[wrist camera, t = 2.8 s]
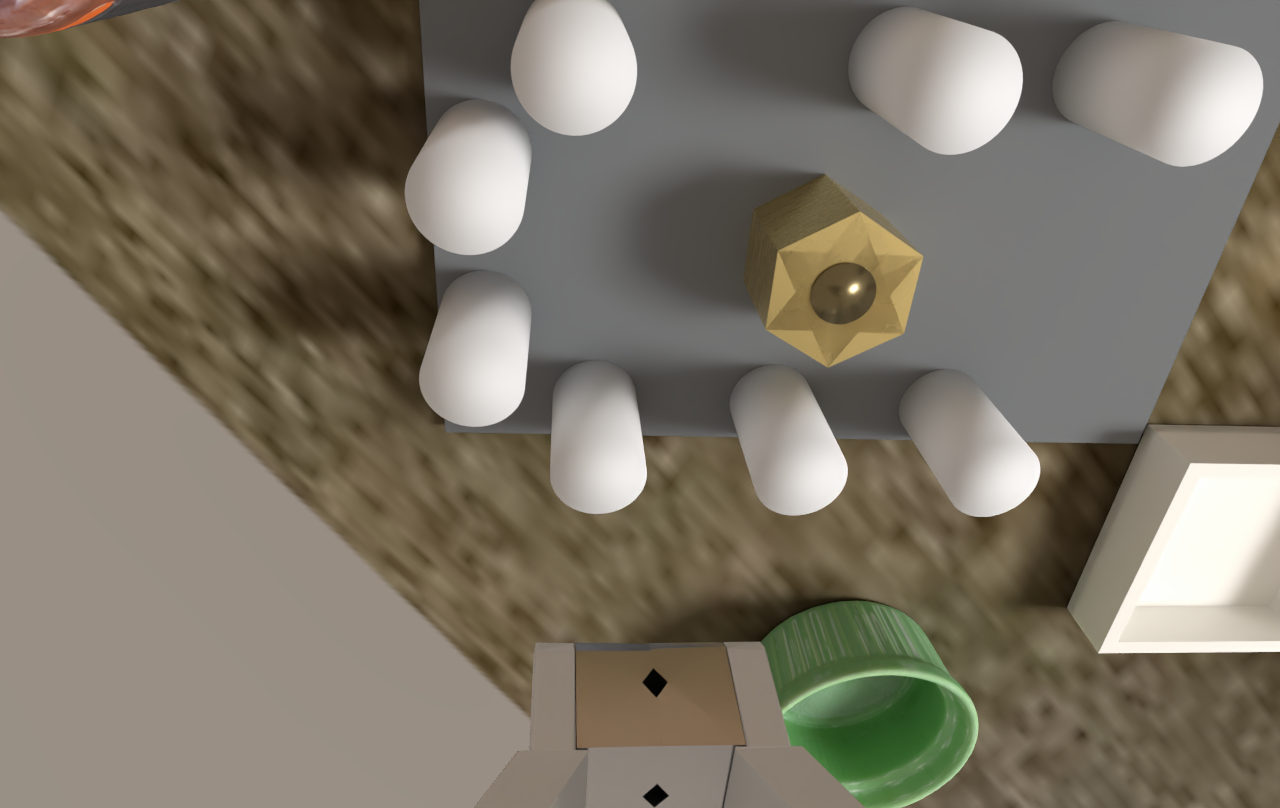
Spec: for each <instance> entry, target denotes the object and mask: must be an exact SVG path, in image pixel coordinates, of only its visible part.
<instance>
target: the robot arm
mask: <svg viewBox="0 0 1280 808" xmlns="http://www.w3.org/2000/svg"><path fill="white" fill-rule="evenodd" d="M530 726H531V727H530V746H529V747H530V748H529V751H517V753H516V754H515V755H514V757H513V758H512V759H511V761H510V762H509V763H508V764H507V766H506V767H505V768H504V769H503V771H502V772H501V773H500V775H499V776H498V777H497V778H496V780H495V781H494V783H493V784H492V785H491V787H490V788H489V789H488V790H487V791H486V793H485V794H484V795H483V797H482V798H481V799H480V800H479V802H478V803H477V804H476V806H475V807H474V808H865V807H864V806H863V805H862V804H861V803H860V802H859V801H858V800H857V799H856V798H855V797H854V796H853V795H852V794H851V793H850V792H849V791H848V790H847V789H846V788H845V787H844V786H843V785H842V784H841V783H840V782H839V781H837V780H836V779H835V778H834V777H833V776H832V775H831V774H830V773H829V772H828V771H827V770H826V769H825V768H824V767H823V766H822V765H821V764H820V763H819V762H818V761H817V760H816V759H815V758H814V757H813V756H812V755H811V754H810V753H809V752H808V751H807V750H806V749H805V748H804V747H803V746H791V744H790V741H789V737H788V733H787V729H786V726H785V722H784V718H783V714H782V711H781V707H780V703H779V699H778V696H777V692H776V688H775V684H774V681H773V677H772V673H771V669H770V666H769V662H768V658H767V654H766V651H765V647H764V646H763V645H762V644H761V642H723V643H721V642H690V643H648V644H617V643H575V649H574V643H536V645H535V650H534V662H533V683H532V704H531V725H530Z"/></svg>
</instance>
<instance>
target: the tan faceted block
mask: <svg viewBox="0 0 1280 808" xmlns="http://www.w3.org/2000/svg"><path fill="white" fill-rule="evenodd" d="M922 260H923V255H922V254H921V253H920V252H919V251H918V250H917V249H916V248H915V247H914V246H913V245H912V244H911V243H910V242H909V241H908V240H907V239H906V238H905V237H904V236H903V235H902V234H901V233H900V232H899V231H898V230H897V229H896V228H895V227H894V226H893V225H892V224H891V223H890V222H889V221H888V220H887V219H886V218H885V217H884V216H883V215H882V214H880V213H879V212H878V211H876V210H875V209H873V208H872V207H871V206H869V205H868V204H866V203H865V202H864V201H862V200H861V199H859V198H858V197H857V196H855V195H854V194H852V193H851V192H850V191H848V190H847V189H845V188H844V187H843V186H841V185H840V184H838V183H837V182H836V181H834V180H833V179H831V178H830V177H829V176H827V175H826V174H824V175H822V176H820V177H818V178H816V179H814V180H811V181H809V182H807V183H805V184H803V185H801V186H799V187H797V188H795V189H793V190H791V191H789V192H787V193H785V194H783V195H781V196H779V197H777V198H775V199H773V200H771V201H769V202H767V203H765V204H763V205H761V206H759V207H757V208H754V209H753V215H752V222H751V229H750V236H749V243H748V251H747V258H746V265H745V272H744V280H743V281H744V283H745V286H746V288H747V290H748V292H749V294H750V297H751V299H752V301H753V303H754V305H755V308H756V310H757V312H758V314H759V316H760V319H761V321H762V323H763V325H764V327H765V329H766V330H767V331H769V332H770V333H772V334H774V335H775V336H777V337H779V338H780V339H782V340H783V341H785V342H787V343H788V344H790V345H792V346H793V347H795V348H796V349H798V350H800V351H801V352H803V353H805V354H806V355H808V356H810V357H811V358H813V359H814V360H816V361H818V362H819V363H821V364H823V365H824V366H826V367H828V368H829V367H831V366H833V365H835V364H837V363H840V362H842V361H844V360H846V359H849V358H851V357H853V356H855V355H857V354H860V353H862V352H864V351H866V350H869V349H871V348H873V347H875V346H878V345H880V344H882V343H884V342H886V341H889V340H891V339H893V338H895V337H898V336H900V335H902V334H904V332H905V328H906V324H907V320H908V316H909V312H910V308H911V304H912V300H913V296H914V292H915V288H916V284H917V280H918V276H919V272H920V268H921V264H922Z"/></svg>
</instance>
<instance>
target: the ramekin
mask: <svg viewBox="0 0 1280 808" xmlns="http://www.w3.org/2000/svg"><path fill="white" fill-rule="evenodd" d="M761 644H762V645H763V646H764V647H765V651H766V654H767V658H768V662H769V666H770V669H771V673H772V677H773V681H774V684H775V688H776V692H777V696H778V699H779V703H780V707H781V711H782V714H783V718H784V722H785V726H786V729H787V733H788V737H789V741H790V744H791V746H803V747H804V748H805V749H806V750H807V751H808V752H809V753H810V754H811V755H812V756H813V757H814V758H815V759H816V760H817V761H818V762H819V763H820V764H821V765H822V766H823V767H824V768H825V769H826V770H827V771H828V772H829V773H830V774H831V775H832V776H833V777H834V778H835V779H836V780H837V781H839V782H840V783H841V784H842V785H843V786H844V787H845V788H846V789H847V790H848V791H849V792H850V793H851V794H852V795H853V796H854V797H855V798H856V799H857V800H858V801H859V802H860V803H861V804H862V805H863V806H864V807H865V808H902V807H905V806H907V805H910V804H912V803H915V802H917V801H919V800H920V799H922V798H924V797H926V796H927V795H929V794H931V793H933V792H934V791H936V790H937V789H939V788H940V787H941V786H943V785H944V784H945V783H946V782H948V781H949V780H950V779H951V778H952V777H953V776H954V775H955V774H956V773H957V772H958V771H959V770H960V769H961V768H962V767H963V765H964V764H965V763H966V761H967V760H968V758H969V756H970V754H971V753H972V751H973V749H974V746H975V742H976V740H977V735H978V717H977V713H976V709H975V707H974V704H973V702H972V701H971V699H970V697H969V696H968V694H967V693H966V692H965V690H964V689H963V688H962V687H961V686H960V684H959V683H958V682H957V681H955V680H954V679H953V678H952V677H951V676H950V674H949V673H948V671H947V669H946V668H945V666H944V664H943V663H942V661H941V659H940V658H939V656H938V654H937V653H936V651H935V649H934V648H933V646H932V644H931V643H930V641H929V639H928V638H927V636H926V635H925V633H924V632H923V631H922V629H921V628H920V627H919V625H918V624H917V623H916V622H914V621H913V620H912V619H911V618H910V617H909V616H907V615H906V614H904V613H903V612H901V611H899V610H897V609H894V608H892V607H889V606H886V605H883V604H879V603H875V602H869V601H840V602H834V603H828V604H824V605H820V606H816V607H813V608H810V609H808V610H805V611H803V612H801V613H798V614H796V615H794V616H792V617H790V618H788V619H787V620H785V621H784V622H782V623H781V624H779V625H778V626H777V627H775V628H774V629H773V630H772V631H771V632H770V633H769V634H768V635H767V636H766V637H765V638H764V639H763V640H762V641H761Z"/></svg>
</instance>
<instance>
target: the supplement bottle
mask: <svg viewBox="0 0 1280 808" xmlns="http://www.w3.org/2000/svg"><path fill="white" fill-rule="evenodd" d="M176 1H179V0H0V38H6V37H25V36H33V35H40V34H44V33H49V32H54V31H58V30H63V29H68V28H72V27H75V26H79V25H83V24H88V23H91V22H96V21H99V20H104V19H108V18H113V17H116V16H121V15H125V14H129V13H132V12H136V11H140V10H143V9H147V8H151V7H157V6H160V5H164V4H167V3H171V2H176Z"/></svg>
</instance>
